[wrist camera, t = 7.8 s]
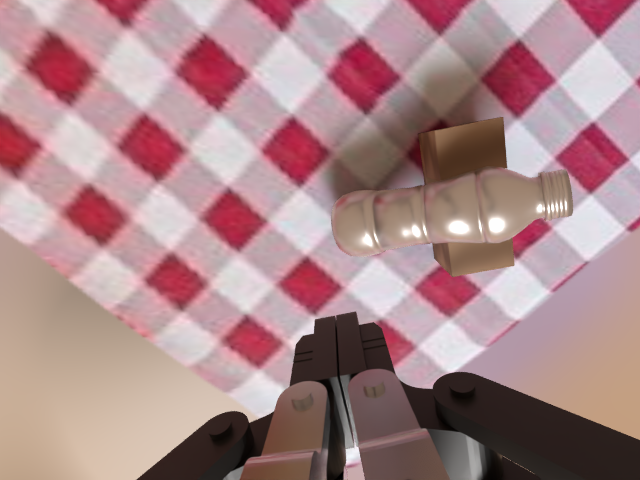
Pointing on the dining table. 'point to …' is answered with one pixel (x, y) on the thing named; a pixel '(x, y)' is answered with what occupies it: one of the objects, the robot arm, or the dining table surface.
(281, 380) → the dining table surface
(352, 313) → the robot arm
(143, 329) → the dining table surface
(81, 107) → the dining table surface
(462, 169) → the u rest
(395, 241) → the silver metal bottle
